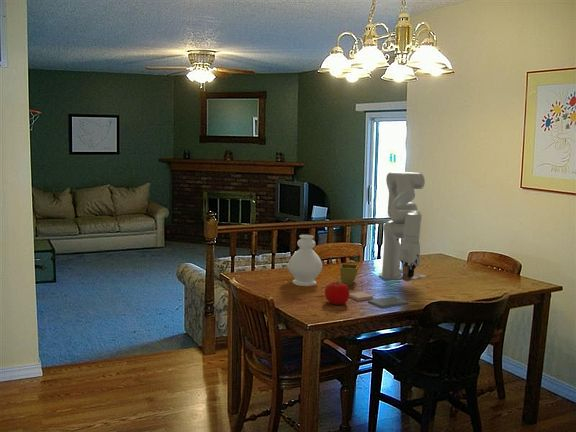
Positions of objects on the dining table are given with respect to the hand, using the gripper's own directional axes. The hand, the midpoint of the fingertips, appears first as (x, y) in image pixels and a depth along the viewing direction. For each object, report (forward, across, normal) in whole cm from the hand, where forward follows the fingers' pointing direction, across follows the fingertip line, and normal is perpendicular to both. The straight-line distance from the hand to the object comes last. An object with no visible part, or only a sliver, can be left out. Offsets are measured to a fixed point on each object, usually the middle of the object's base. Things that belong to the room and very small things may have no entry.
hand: (408, 275), depth 299 cm
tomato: (+12, -10, -34) cm, 38 cm away
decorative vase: (+13, -47, -28) cm, 56 cm away
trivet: (+12, 0, -12) cm, 17 cm away
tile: (+12, -13, -13) cm, 22 cm away
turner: (+2, 0, +4) cm, 4 cm away
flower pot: (+13, -38, -6) cm, 41 cm away
